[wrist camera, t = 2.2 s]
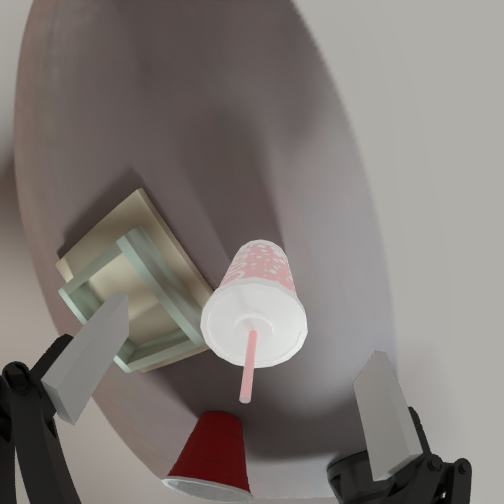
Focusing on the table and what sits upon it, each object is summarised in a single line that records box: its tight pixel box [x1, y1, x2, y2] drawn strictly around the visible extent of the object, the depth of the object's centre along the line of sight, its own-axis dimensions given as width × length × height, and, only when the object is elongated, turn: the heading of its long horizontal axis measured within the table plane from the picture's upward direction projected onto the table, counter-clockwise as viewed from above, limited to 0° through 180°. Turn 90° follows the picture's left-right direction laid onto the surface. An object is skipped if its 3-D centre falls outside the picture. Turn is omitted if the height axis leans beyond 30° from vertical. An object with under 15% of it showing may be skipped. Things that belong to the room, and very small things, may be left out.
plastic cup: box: [161, 411, 253, 503], centre depth 27 cm, size 11×11×12 cm
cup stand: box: [56, 188, 214, 373], centre depth 24 cm, size 16×14×4 cm
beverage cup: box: [200, 240, 308, 403], centre depth 17 cm, size 6×6×14 cm
